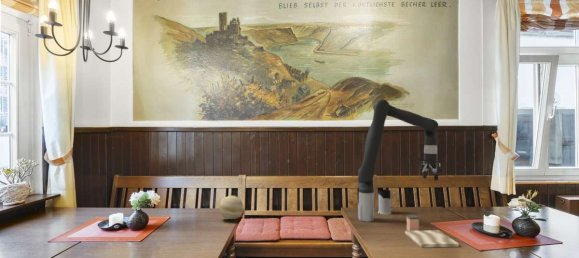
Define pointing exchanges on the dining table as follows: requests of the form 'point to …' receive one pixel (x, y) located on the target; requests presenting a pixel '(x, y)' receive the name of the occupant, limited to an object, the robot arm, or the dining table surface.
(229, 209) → the decorative ball
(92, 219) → the dining table surface
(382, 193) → the glass holder
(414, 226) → the block
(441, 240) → the board
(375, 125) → the robot arm
